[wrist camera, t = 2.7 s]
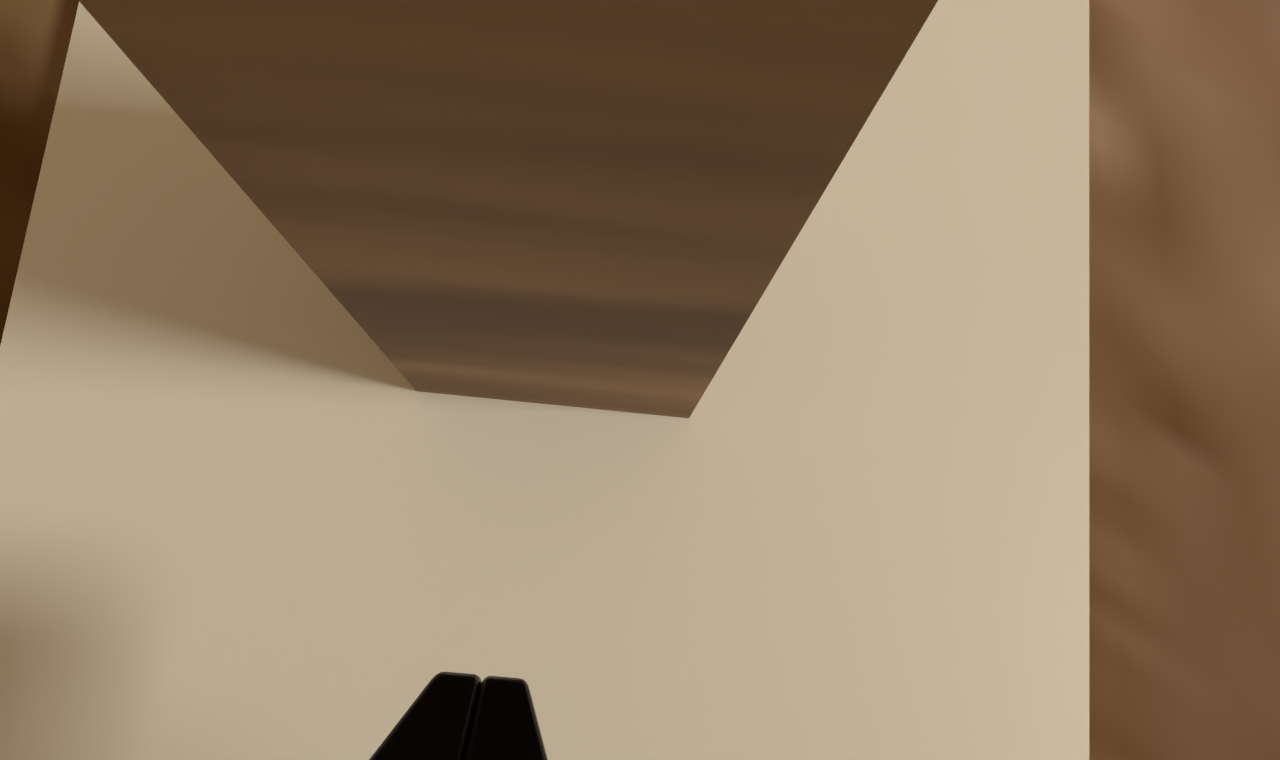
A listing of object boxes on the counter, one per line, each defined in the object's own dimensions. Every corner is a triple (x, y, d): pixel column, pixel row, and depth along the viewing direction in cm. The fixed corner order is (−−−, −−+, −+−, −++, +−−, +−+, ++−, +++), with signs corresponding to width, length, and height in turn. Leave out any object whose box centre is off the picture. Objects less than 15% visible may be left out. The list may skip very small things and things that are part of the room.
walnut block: (688, 418, 17) (1009, -121, 4) (416, 390, 17) (-142, -256, 4) (710, 165, 18) (1024, -926, 5) (452, 137, 18) (94, -1059, 5)
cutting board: (1070, 1020, 16) (1089, 1037, 15) (-107, 923, 15) (-135, 936, 15) (1074, -194, 20) (1089, -217, 20) (167, -303, 20) (154, -330, 19)
